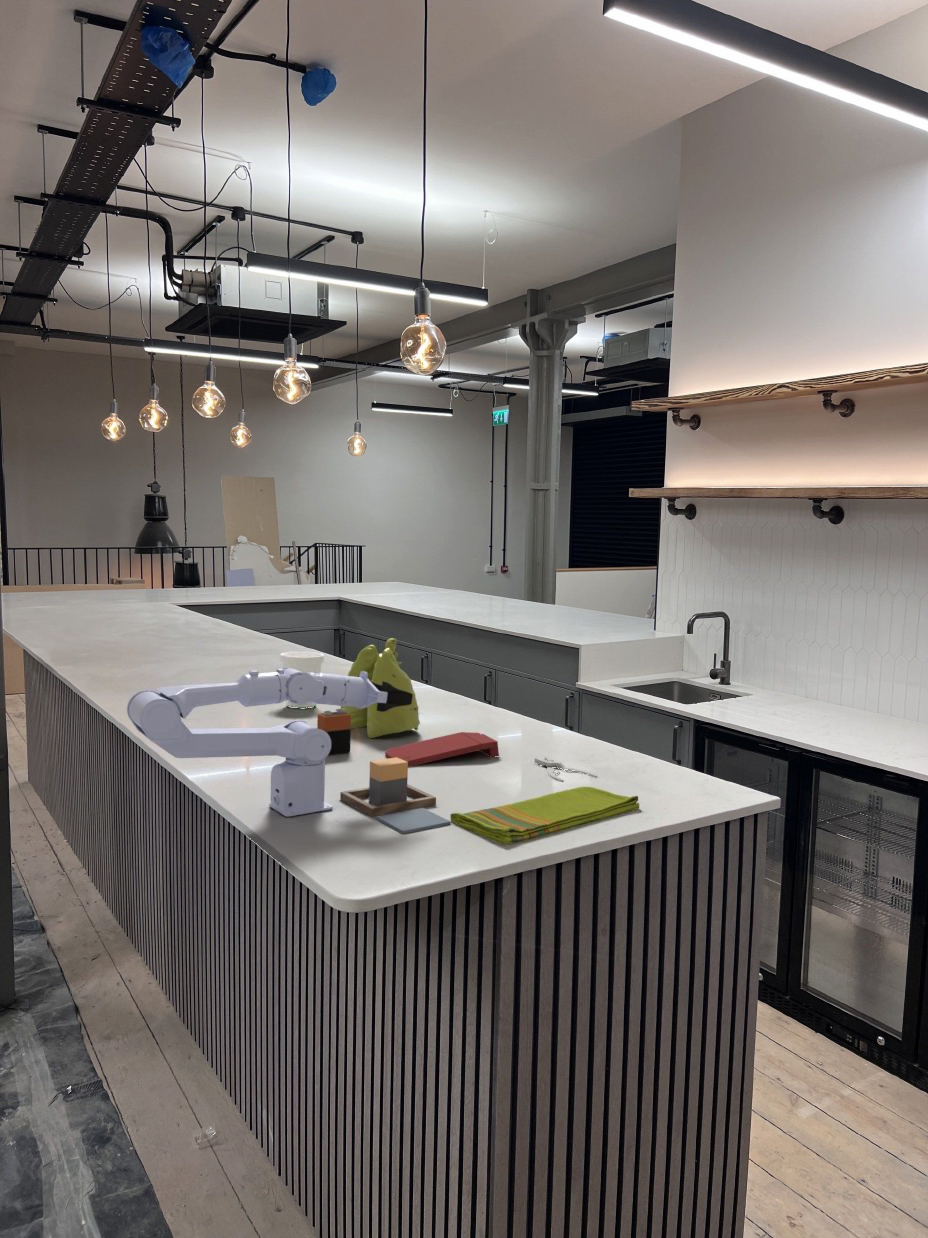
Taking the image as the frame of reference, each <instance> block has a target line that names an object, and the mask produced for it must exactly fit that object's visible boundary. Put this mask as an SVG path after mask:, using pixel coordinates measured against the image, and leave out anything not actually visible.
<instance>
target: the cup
mask: <svg viewBox="0 0 928 1238" xmlns="http://www.w3.org/2000/svg"><path fill="white" fill-rule="evenodd" d="M279 657H280V658H279V660H280V663H281V665H282V668H292V669H296V670H298V671H301V672H306V673H310V672H313V673H321V670H322V664H323V662H324V660H325V654H323V653H321V652H316V651H287V652H282V653H280V655H279ZM287 705H288V706H291V707H298V708H306V707H307V708H308V707H313V706H316V707H317V704H316V703H313V702H307V703H306V704H303V705H297V703H293V702H290V701H288V700H286V706H287Z"/></svg>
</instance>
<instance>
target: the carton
mask: <svg viewBox="0 0 928 1238" xmlns="http://www.w3.org/2000/svg"><path fill="white" fill-rule="evenodd" d="M477 751H479V752H481V753H483V754H484V753H485V755H486V754H487V755H486V756H488V755H489V756H488V757H490V758H491V757H492V758H496V757H495V756H499V757H500V753H499V743H498V740H496V739H494V738H493V737H489V736H488V735H486V734H484V733H479V732H465V731H460V732H456V733H451V734H447V735H442V736H439V737H438V736H437V737H433V738H429V739H425V740H421V741H420V740H419V741H416V742H412V743H407V744H403V745H399V746H394V747H390V748H386V750H385V752H384V756H385V757H386V759H389V758H396V757H397V758H399V759H402V760H404V761H407V762H408V767H414V766H417V765H421V764H422V765H423V764H426V763H431V762H435V761H439V760H443V759H448V758H452V757H457V756H460V755H465V754H468V753H473V752H477Z"/></svg>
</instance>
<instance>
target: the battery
mask: <svg viewBox="0 0 928 1238" xmlns="http://www.w3.org/2000/svg"><path fill="white" fill-rule="evenodd" d="M344 711H345V709H341V708H337V709H335V711H332V710H324V712H323V713H322V712H321V713H318V714H317V721H316V722H317V723H316V724H317V725H316V726H317V727H316V728H317V729H321V730H323V731H325V732H326V733H327V734H328V735H329V737H330V739H331V750H330V752H329V754H328V756H332V755H333V756H334V755H342V754H348V753H351V739H352V737H351V732H352V730H351V729H352V728H351V715H350V714H348V713H346V712H344Z"/></svg>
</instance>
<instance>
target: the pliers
mask: <svg viewBox="0 0 928 1238" xmlns="http://www.w3.org/2000/svg"><path fill="white" fill-rule="evenodd" d="M535 763H537V764H539V765H538V766H540V765H542V766H544V767H547V768H548V769H547V768H546V774H547V773H548V774H549V775H550V776H551V777H553V778H554V779H553V778H552V779H553V780H555V779H556V780H555V781H558V780H559V781H558V782H561V781H563V782H564V779H562V778H561V777H560V776H558V775H559V774H560V769H558V768H562V769H563V770H564V769H568V770H565V771H572V770H575V771H572V772H582V773H581V774H583V773H585V774H584V775H586V774H589V775H588V776H590V775H591V776H590V777H593V778H598V775H597V774H594V773H593V772H590V771H587V770H583V769H582V768H581V769H579V768H577V767H576V768H574V767H568V766H565V765H564V764H563V763H562V762H561V761H555V760H554V759H552V758H551V757H547V756H546V757H544V759H542V758H538V757H535V758H534V764H535ZM537 764H536V765H537ZM545 765H546V766H545ZM542 766H541V767H542ZM552 767H557V769H558V770H557V772H555V768H552ZM563 770H562V771H563ZM553 772H554V773H553ZM572 772H571V773H572ZM558 773H559V774H558ZM548 774H547V775H548ZM556 774H558V775H556ZM549 775H548V776H549ZM550 776H549V777H550ZM551 777H550V778H551Z"/></svg>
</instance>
